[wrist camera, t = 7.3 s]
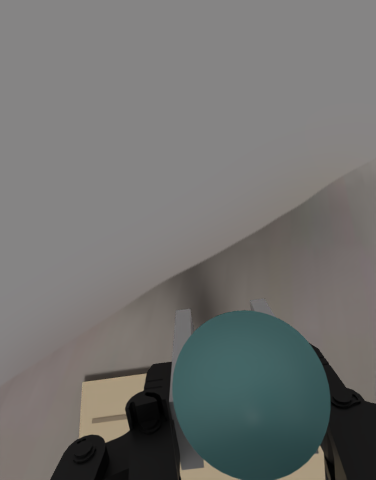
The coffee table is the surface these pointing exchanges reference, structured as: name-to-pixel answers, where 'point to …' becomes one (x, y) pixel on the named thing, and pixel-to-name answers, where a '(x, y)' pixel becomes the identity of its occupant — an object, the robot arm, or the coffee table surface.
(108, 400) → the pad
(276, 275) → the coffee table surface
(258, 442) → the marker
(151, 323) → the coffee table surface
